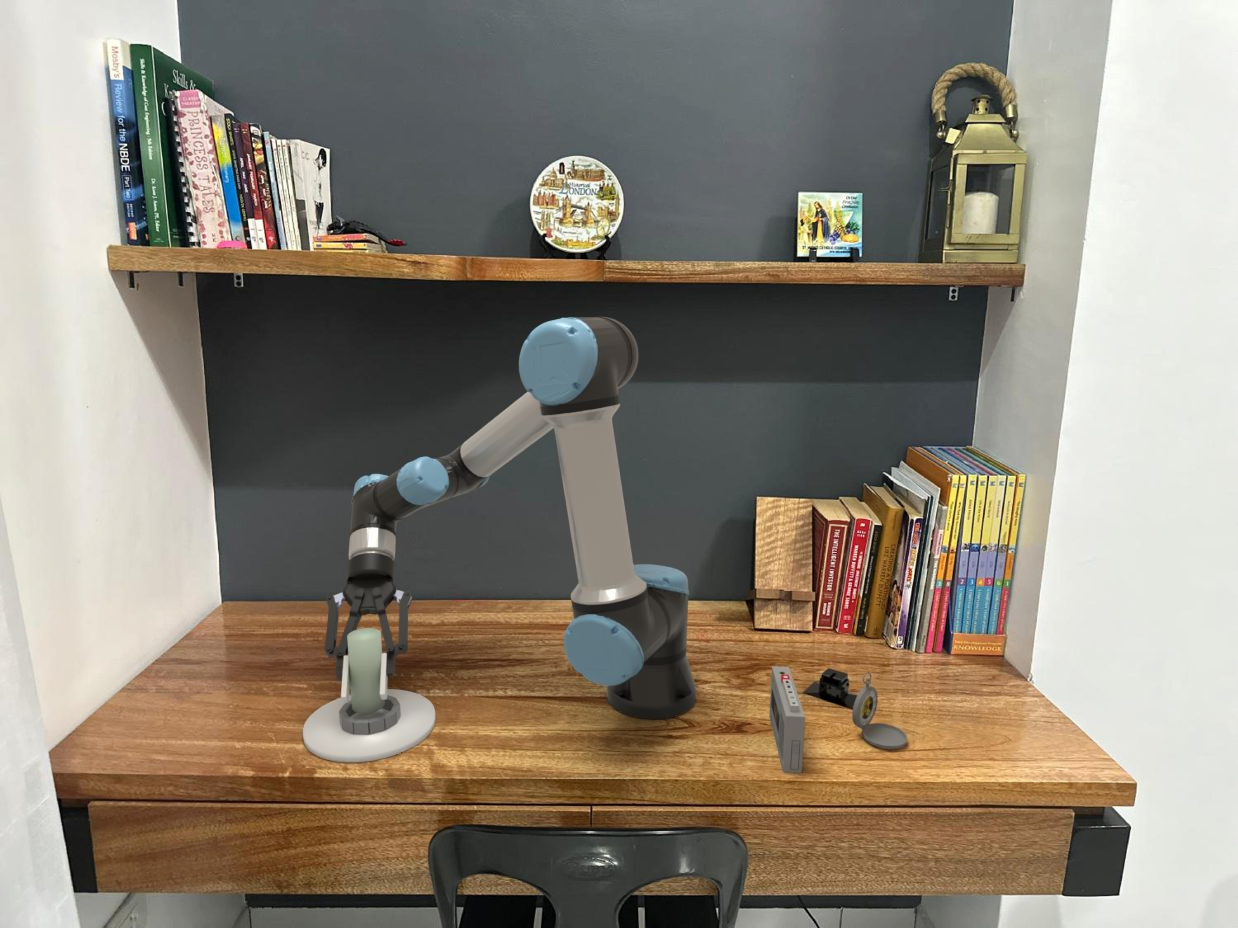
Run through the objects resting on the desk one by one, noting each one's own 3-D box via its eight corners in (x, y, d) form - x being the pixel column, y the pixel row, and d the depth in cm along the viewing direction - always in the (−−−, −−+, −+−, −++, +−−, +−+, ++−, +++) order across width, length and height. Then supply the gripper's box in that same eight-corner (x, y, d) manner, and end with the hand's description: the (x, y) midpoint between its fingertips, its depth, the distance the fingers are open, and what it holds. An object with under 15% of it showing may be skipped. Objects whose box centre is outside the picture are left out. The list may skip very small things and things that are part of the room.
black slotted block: (791, 694, 139) (792, 670, 138) (809, 679, 145) (810, 655, 144) (860, 718, 132) (862, 692, 131) (876, 700, 137) (878, 676, 136)
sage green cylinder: (388, 697, 129) (385, 628, 126) (379, 713, 124) (375, 641, 121) (357, 697, 129) (353, 627, 126) (347, 713, 124) (342, 641, 121)
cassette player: (769, 716, 131) (772, 660, 129) (785, 717, 131) (789, 661, 128) (782, 772, 115) (786, 709, 113) (801, 773, 115) (805, 710, 113)
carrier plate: (447, 695, 136) (446, 678, 136) (418, 762, 117) (417, 743, 116) (330, 695, 136) (328, 677, 136) (282, 761, 117) (280, 742, 116)
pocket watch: (909, 754, 120) (915, 693, 118) (851, 747, 122) (856, 687, 120) (902, 726, 128) (907, 668, 126) (847, 720, 130) (852, 663, 128)
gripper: (428, 567, 139) (426, 701, 126) (319, 572, 136) (306, 709, 123) (425, 548, 133) (422, 686, 120) (311, 553, 130) (297, 695, 117)
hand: (364, 697), depth 122 cm, fingers closed on sage green cylinder, 5 cm apart
